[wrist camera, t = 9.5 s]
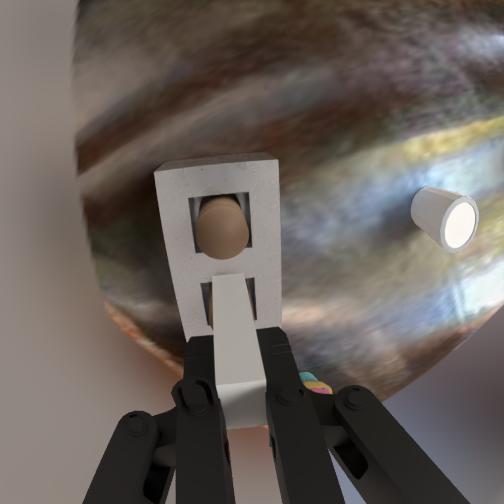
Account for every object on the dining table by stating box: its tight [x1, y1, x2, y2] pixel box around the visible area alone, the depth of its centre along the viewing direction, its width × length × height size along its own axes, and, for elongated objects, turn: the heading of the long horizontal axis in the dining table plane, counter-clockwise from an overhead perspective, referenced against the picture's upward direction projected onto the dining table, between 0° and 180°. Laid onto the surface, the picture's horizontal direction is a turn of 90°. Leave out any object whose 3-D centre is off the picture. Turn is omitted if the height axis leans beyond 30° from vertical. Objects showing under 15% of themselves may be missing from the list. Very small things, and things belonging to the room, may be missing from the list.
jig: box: [154, 152, 282, 342], centre depth 31 cm, size 26×10×6 cm, turn 3°
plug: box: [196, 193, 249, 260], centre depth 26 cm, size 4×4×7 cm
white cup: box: [411, 186, 479, 253], centre depth 31 cm, size 7×7×7 cm
